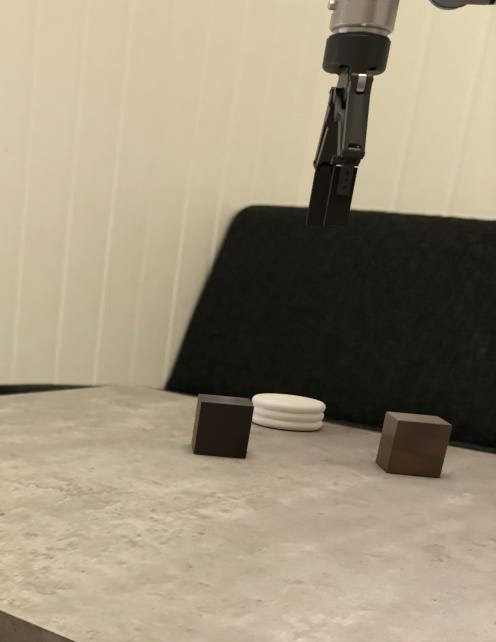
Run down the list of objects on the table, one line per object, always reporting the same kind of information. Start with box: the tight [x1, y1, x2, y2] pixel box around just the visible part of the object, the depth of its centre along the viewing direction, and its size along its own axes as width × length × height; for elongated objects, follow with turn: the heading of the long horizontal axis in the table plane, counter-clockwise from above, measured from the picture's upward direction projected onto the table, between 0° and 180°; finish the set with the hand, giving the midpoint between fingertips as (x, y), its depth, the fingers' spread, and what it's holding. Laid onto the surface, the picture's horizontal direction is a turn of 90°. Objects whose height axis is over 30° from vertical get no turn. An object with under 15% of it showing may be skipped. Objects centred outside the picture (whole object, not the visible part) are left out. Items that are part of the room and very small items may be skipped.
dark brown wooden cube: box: [375, 411, 453, 479], centre depth 117 cm, size 6×6×6 cm
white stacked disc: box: [251, 393, 327, 432], centre depth 140 cm, size 10×10×4 cm
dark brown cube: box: [191, 393, 254, 460], centre depth 119 cm, size 6×6×6 cm
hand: (324, 226), depth 129 cm, fingers open, 13 cm apart
